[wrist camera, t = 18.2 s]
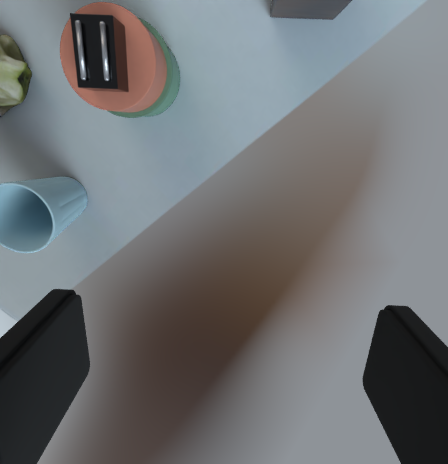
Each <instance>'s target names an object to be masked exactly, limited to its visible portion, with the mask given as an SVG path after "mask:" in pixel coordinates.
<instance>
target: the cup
mask: <svg viewBox="0 0 448 464" xmlns="http://www.w3.org/2000/svg"><path fill="white" fill-rule="evenodd" d="M87 199H88V198H87V194H86V191H85V189H84V187H83V186H82V185H81V184H80V183H79V182H78V181H76V180H75V179H72V178H70V177H52V178H43V179H34V180H25V181H16V182H6V183H1V184H0V245H2V246H4V247H5V248H7V249H9V250H12V251H15V252H19V253H33V252H37V251H39V250H42V249H43V248H45V247H46V246H47V245H48V244H49V243H50V242H51V241H52V240H54V239H55V238H56V237H57V236H58V235H59V234H60V233H61V232H62V231H63V230H64V229H65V228H66V227H67V226H68V225H69V224H70V223H72V222H73V221H74V220H75V219H76V218H77V217H78V216H79V215H80V214H81V213H82V212H83V211H84V209H85V208H86V206H87Z"/></svg>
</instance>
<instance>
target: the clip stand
mask: <svg viewBox="0 0 448 464" xmlns="http://www.w3.org/2000/svg"><path fill="white" fill-rule="evenodd" d="M351 1H352V0H272V2H271V15H270V17H278V18H303V19H329V20H333V19H334V18H335V17H336V16H337V15H338V14H339V13H340V12H341V11H342V10H343V9H344V8H345V7H346V6H347V5H348V4H349V3H350V2H351Z"/></svg>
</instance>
